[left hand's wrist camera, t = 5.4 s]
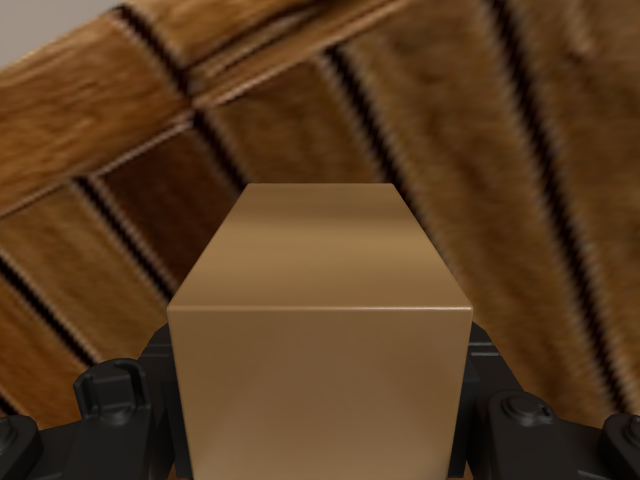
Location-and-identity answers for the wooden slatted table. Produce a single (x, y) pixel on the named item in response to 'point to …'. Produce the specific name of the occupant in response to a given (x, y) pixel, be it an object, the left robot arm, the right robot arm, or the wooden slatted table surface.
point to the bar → (320, 340)
